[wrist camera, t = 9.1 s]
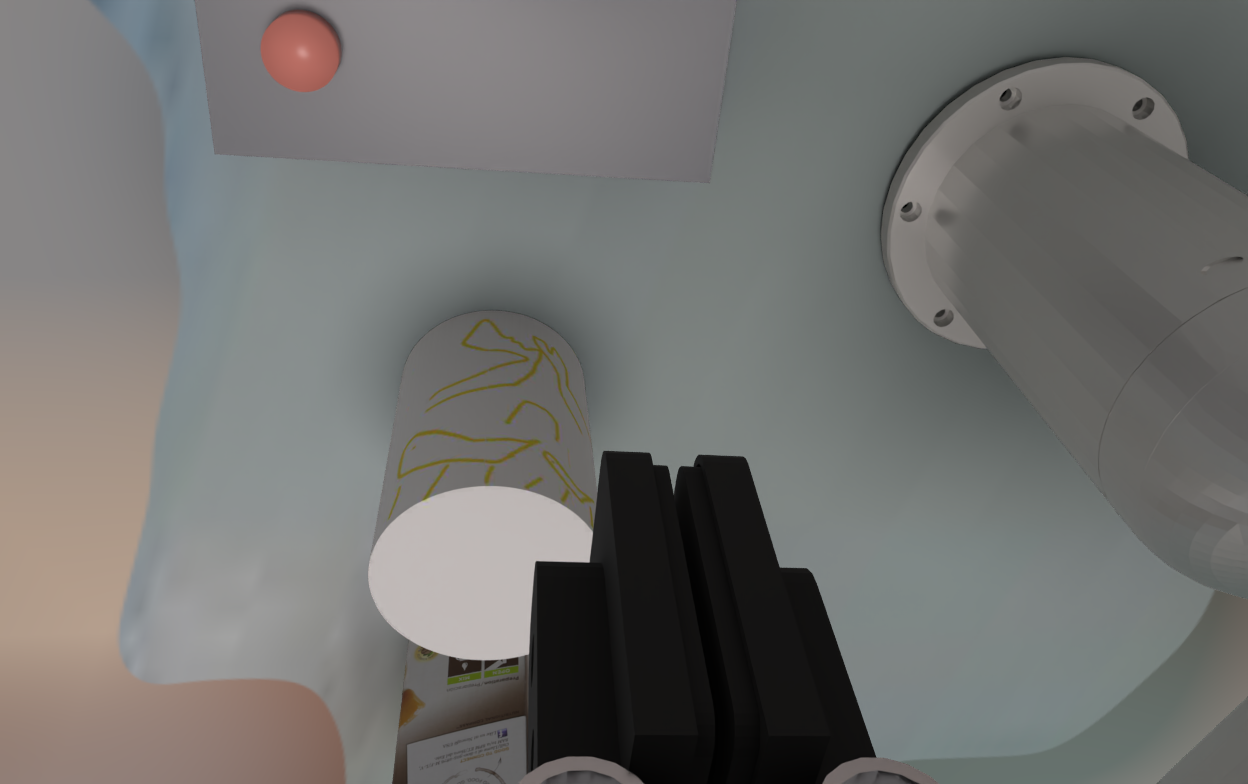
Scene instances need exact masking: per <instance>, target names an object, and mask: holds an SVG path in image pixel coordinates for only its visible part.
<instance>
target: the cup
mask: <svg viewBox="0 0 1248 784" xmlns="http://www.w3.org/2000/svg"><path fill="white" fill-rule="evenodd" d="M596 502H597V486H596V478H595V469H594V460H593V451H592V443H591V434H590V425H589V417H588V408H587V399H586V391H585V382H584V375H583V371H582V368H581V365H580V362H579V360H578V358H577V356H576V354H575V353H574V351H573V350H572V348H571V347H570V345H569V344H568V343H567V342H566V341H565V340H564V339H563V338H562V337H561V336H560V335H559V334H558V333H557V332H555V331H554V330H553V329H551V328H550V327H548V326H547V325H545V324H543V323H542V322H540V321H538V320H535V319H533V318H530V317H528V316H525V315H522V314H518V313H513V312H507V311H494V310H489V311H477V312H471V313H467V314H463V315H459V316H456V317H454V318H451V319H449V320H447V321H445V322H443V323H441V324H439V325H438V326H436V327H435V328H433V329H432V330H430V331H429V332H428V333H427V334H426V335H424V336H423V337H422V338H421V339H420V341H419V342H418V343H417V344H416V345H415V347H414V348H413V350H412V351H411V353H410V355H409V356H408V359H407V361H406V363H405V366H404V369H403V374H402V379H401V385H400V390H399V396H398V402H397V408H396V413H395V419H394V425H393V430H392V436H391V442H390V448H389V453H388V459H387V465H386V471H385V476H384V482H383V488H382V493H381V499H380V505H379V511H378V516H377V522H376V528H375V534H374V539H373V545H372V551H371V556H370V562H369V570H368V578H369V586H370V591H371V594H372V597H373V600H374V602H375V604H376V606H377V608H378V610H379V611H380V613H381V614H382V616H383V617H384V618H385V619H386V621H387V622H388V623H389V624H390V625H391V626H392V627H393V628H394V629H395V630H397V631H398V632H399V633H400V634H402V635H403V636H404V637H406V638H407V639H409V640H410V641H412V642H414V643H416V644H417V645H419V646H422V647H424V648H426V649H428V650H431V651H433V652H437V653H440V654H443V655H447V656H451V657H456V658H462V659H470V660H501V659H509V658H515V657H520V656H524V655H528V654H529V643H530V622H531V606H532V593H533V580H534V569H535V562H536V561H554V562H590V554H591V545H592V536H593V528H594V519H595V510H596Z"/></svg>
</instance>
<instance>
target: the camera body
mask: <svg viewBox="0 0 1248 784" xmlns="http://www.w3.org/2000/svg"><path fill="white" fill-rule="evenodd" d="M736 3H737V0H195V5H196V13H197V21H198V28H199V36H200V44H201V51H202V59H203V67H204V75H205V82H206V90H207V98H208V106H209V113H210V121H211V129H212V136H213V144H214V152H215V154H221V155H238V156H256V157H273V158H290V159H307V160H324V161H341V162H358V163H375V164H392V165H409V166H426V167H444V168H461V169H478V170H495V171H512V172H529V173H546V174H563V175H580V176H597V177H614V178H632V179H649V180H666V181H683V182H700V183H710V177H711V171H712V164H713V157H714V150H715V144H716V137H717V130H718V124H719V117H720V110H721V104H722V97H723V90H724V84H725V77H726V70H727V64H728V57H729V50H730V43H731V37H732V30H733V23H734V17H735V10H736Z"/></svg>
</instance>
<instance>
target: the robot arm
mask: <svg viewBox="0 0 1248 784" xmlns="http://www.w3.org/2000/svg"><path fill="white" fill-rule="evenodd" d="M1006 90H1007V92H1006V94H1005V96H1003V97H1002V98H1000V97H1001V95H1002V93H1003V92H1004V91H1006ZM908 202H909V204H908V206H907V207H905V208H902V207H903V206H904V205H905V204H907V203H908ZM881 244H882V253H883V262H884V265H885V267H886V270H887V273H888V276H889V279H890V282H891V284H892V286H893V288H894V289H895V291H896V292H897V294H898V296H899V297H900V299H901V301H902V302H903V303H904V305H905V306H906V307H907V308H908V310H909V311H910V312H911V313H912V314H913V316H914V317H915V318H916V319H917V320H918V321H919V322H920V323H921V324H923V325H924V326H925V327H926V328H928V329H929V330H930V331H932V332H933V333H935V334H937V335H939V336H941V337H943V338H946V339H948V340H950V341H952V342H954V343H957V344H961V345H966V346H970V347H975V348H979V349H988V350H989V352H990V353H991V354H992V355H993V357H994V358H995V359H996V360H997V362H998V363H999V364H1000V365H1001V367H1002V368H1003V369H1004V371H1005V372H1006V373H1007V374H1008V376H1009V377H1010V378H1011V379H1012V381H1013V382H1014V383H1015V384H1016V386H1017V387H1018V388H1019V389H1020V391H1021V392H1022V393H1023V395H1024V396H1025V397H1026V398H1027V400H1028V401H1029V402H1030V403H1031V405H1032V406H1033V407H1034V408H1035V410H1036V411H1037V412H1038V413H1039V415H1040V416H1041V417H1042V419H1043V420H1044V421H1045V422H1046V424H1047V425H1048V426H1049V427H1050V429H1051V430H1052V431H1053V432H1054V434H1055V435H1056V436H1057V437H1058V439H1059V440H1060V441H1061V442H1062V444H1063V445H1064V446H1065V448H1066V449H1067V450H1068V451H1069V453H1070V454H1071V455H1072V456H1073V458H1074V459H1075V460H1076V461H1077V463H1078V464H1079V465H1080V466H1081V468H1082V469H1083V470H1084V472H1085V473H1086V474H1087V475H1088V477H1089V478H1090V479H1091V480H1092V482H1093V483H1094V484H1095V485H1096V487H1097V488H1098V489H1099V490H1100V492H1101V493H1102V494H1103V495H1104V497H1105V498H1106V499H1107V501H1108V502H1109V503H1110V504H1111V506H1112V507H1113V508H1114V509H1115V511H1116V512H1117V513H1118V514H1119V515H1120V517H1121V518H1122V519H1123V520H1124V522H1125V523H1126V524H1127V525H1128V527H1129V528H1130V529H1131V530H1132V532H1133V533H1134V534H1135V535H1136V536H1137V538H1138V539H1139V540H1140V541H1141V542H1142V543H1143V544H1144V545H1145V546H1146V547H1147V548H1148V549H1149V550H1150V551H1151V552H1152V553H1154V554H1155V555H1156V556H1157V557H1158V558H1160V559H1161V560H1162V561H1163V562H1165V563H1166V564H1167V565H1169V566H1170V567H1171V568H1173V569H1175V570H1176V571H1178V572H1179V573H1181V574H1183V575H1185V576H1187V577H1189V578H1190V579H1192V580H1194V581H1196V582H1198V583H1200V584H1202V585H1204V586H1207V587H1210V588H1213V589H1216V590H1218V591H1222V592H1225V593H1228V594H1232V595H1235V596H1238V597H1242V598H1245V599H1248V196H1247V195H1245V194H1244V193H1242V192H1240V191H1239V190H1237V189H1235V188H1234V187H1232V186H1230V185H1229V184H1227V183H1226V182H1224V181H1222V180H1221V179H1219V178H1217V177H1216V176H1214V175H1212V174H1211V173H1209V172H1207V171H1206V170H1204V169H1203V168H1201V167H1199V166H1198V165H1196V164H1194V163H1193V162H1191V161H1189V156H1188V148H1187V140H1186V137H1185V135H1184V132H1183V129H1182V127H1181V124H1180V121H1179V119H1178V116H1177V115H1176V113H1175V112H1174V110H1173V109H1172V108H1171V106H1170V105H1169V104H1168V102H1167V101H1166V99H1165V98H1164V97H1163V95H1162V94H1160V93H1159V92H1158V91H1157V90H1155V89H1154V88H1153V87H1152V86H1150V85H1149V84H1148V83H1147V82H1146V81H1144V80H1143V79H1141V78H1139V77H1138V76H1136V75H1134V74H1132V73H1130V72H1128V71H1126V70H1124V69H1122V68H1121V67H1118V66H1114V65H1111V64H1108V63H1105V62H1102V61H1098V60H1095V59H1085V58H1073V57H1061V58H1052V59H1044V60H1036V61H1032V62H1029V63H1026V64H1023V65H1019V66H1016V67H1013V68H1010V69H1007V70H1004V71H1002V72H1000V73H998V74H996V75H994V76H992V77H990V78H988V79H986V80H984V81H982V82H980V83H978V84H976V85H975V86H973V87H972V88H970V89H969V90H968V91H966V92H965V93H964V94H962V95H961V96H959V97H958V98H957V99H955V100H954V101H953V102H951V103H950V104H948V105H947V106H946V107H945V108H944V109H943V110H942V111H941V112H940V113H939V114H938V115H937V116H936V117H935V118H934V119H933V120H932V121H931V122H930V123H929V124H928V125H927V126H926V127H925V128H924V130H923V131H922V132H921V134H920V135H919V137H918V138H917V139H916V141H915V142H914V143H913V145H912V146H911V148H910V149H909V150H908V152H907V153H906V154H905V156H904V158H903V160H902V162H901V164H900V166H899V168H898V170H897V172H896V174H895V176H894V178H893V180H892V183H891V186H890V189H889V193H888V196H887V199H886V203H885V206H884V209H883V219H882V228H881ZM518 784H939V783H937V782H936V781H935V780H934V779H933V778H932V777H930V776H929V775H927V774H925V773H923V772H921V771H919V770H918V769H915V768H914V767H912V766H910V765H908V764H905V763H901V762H898V761H894V760H890V759H887V758H876V755H875V752H874V749H873V746H872V743H871V740H870V737H869V735H868V732H867V729H866V726H865V723H864V720H863V717H862V714H861V711H860V708H859V705H858V702H857V700H856V697H855V694H854V691H853V688H852V685H851V682H850V679H849V676H848V673H847V670H846V667H845V665H844V662H843V659H842V656H841V653H840V650H839V647H838V644H837V641H836V638H835V635H834V632H833V630H832V627H831V624H830V621H829V618H828V615H827V612H826V609H825V606H824V603H823V600H822V597H821V595H820V592H819V589H818V586H817V583H816V581H815V579H814V577H813V574H812V573H811V572H810V571H809V570H808V569H807V568H780V567H779V564H778V561H777V557H776V554H775V551H774V548H773V544H772V541H771V538H770V534H769V531H768V528H767V524H766V521H765V518H764V515H763V511H762V508H761V505H760V501H759V498H758V495H757V492H756V488H755V485H754V482H753V478H752V475H751V472H750V469H749V465H748V462H747V460H746V458H744V457H740V456H716V455H698V456H697V458H696V460H695V463H694V467H687V466H681V467H680V468H679V470H678V474H677V479H676V485H675V491H674V495H673V489H672V484H671V479H670V473H669V469H668V467H667V466H662V465H653V462H652V458H651V454H650V453H643V452H618V451H604V452H603V455H602V460H601V467H600V475H599V484H598V493H597V502H596V510H595V519H594V528H593V536H592V545H591V554H590V562H554V561H536V562H535V569H534V580H533V593H532V606H531V622H530V643H529V680H528V774H527V775H525V776H524V777H523V779H522V780H521V781H520V782H519V783H518ZM1157 784H1248V697H1247V698H1246V699H1245V700H1244V701H1243V702H1242V703H1240V704H1239V705H1238V706H1237V707H1236V708H1235V709H1234V710H1233V711H1232V712H1231V713H1230V714H1229V715H1228V716H1227V717H1226V718H1225V719H1224V720H1223V721H1221V722H1220V723H1219V724H1218V725H1217V726H1216V727H1215V728H1214V729H1213V730H1212V731H1211V732H1210V733H1209V734H1208V735H1207V736H1206V737H1205V738H1203V739H1202V741H1200V742H1199V743H1198V744H1197V745H1196V746H1195V747H1194V748H1193V749H1192V750H1191V751H1190V752H1189V753H1188V754H1187V755H1185V756H1184V757H1183V758H1182V759H1181V760H1180V761H1179V762H1178V763H1177V764H1176V765H1175V766H1174V767H1173V768H1172V769H1171V770H1170V771H1169V772H1168V773H1167V774H1166V775H1165V776H1164V777H1163V778H1162V779H1161V780H1160V781H1159V782H1158V783H1157Z"/></svg>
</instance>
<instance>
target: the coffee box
mask: <svg viewBox="0 0 1248 784" xmlns="http://www.w3.org/2000/svg"><path fill="white" fill-rule="evenodd" d="M528 680H529V654H528V655H524V656H520V657H515V658H509V659H501V660H470V659H462V658H456V657H451V656H447V655H443V654H440V653H437V652H433V651H431V650H428V649H426V648H424V647H422V646H419V645H417V644H416V643H414V642H412V641H410V640H409V642H408V650H407V658H406V667H405V677H404V685H403V693H402V704H401V712H400V721H399V729H398V737H397V746H396V755H395V764H394V774H393V781H392V784H518V783H519V782H520V781H521V780H522V779H523V777H524V776H525V775H527V774H528Z"/></svg>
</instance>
